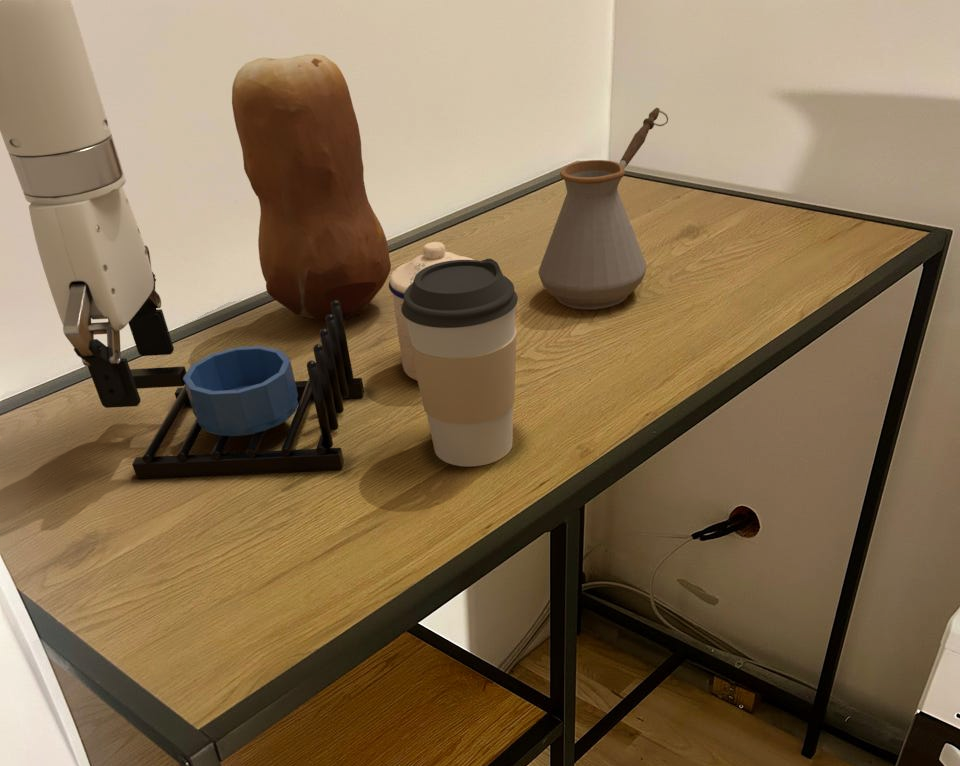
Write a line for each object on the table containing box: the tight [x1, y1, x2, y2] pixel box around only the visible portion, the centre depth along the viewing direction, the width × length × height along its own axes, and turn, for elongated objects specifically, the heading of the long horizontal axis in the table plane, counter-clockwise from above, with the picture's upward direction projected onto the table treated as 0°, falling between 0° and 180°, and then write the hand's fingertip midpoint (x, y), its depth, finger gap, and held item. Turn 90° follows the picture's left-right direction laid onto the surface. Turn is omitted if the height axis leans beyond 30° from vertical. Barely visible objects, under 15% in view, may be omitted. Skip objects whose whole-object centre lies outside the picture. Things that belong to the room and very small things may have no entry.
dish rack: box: [131, 300, 365, 480], centre depth 83 cm, size 18×14×9 cm
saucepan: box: [130, 345, 299, 437], centre depth 84 cm, size 16×9×4 cm, turn 87°
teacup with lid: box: [388, 241, 519, 382], centre depth 90 cm, size 12×9×12 cm
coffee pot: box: [538, 107, 669, 310], centre depth 102 cm, size 21×12×15 cm, turn 147°
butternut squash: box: [231, 53, 392, 320], centre depth 97 cm, size 14×13×25 cm
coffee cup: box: [401, 258, 519, 468], centre depth 77 cm, size 9×9×15 cm
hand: (140, 378), depth 83 cm, fingers open, 9 cm apart
